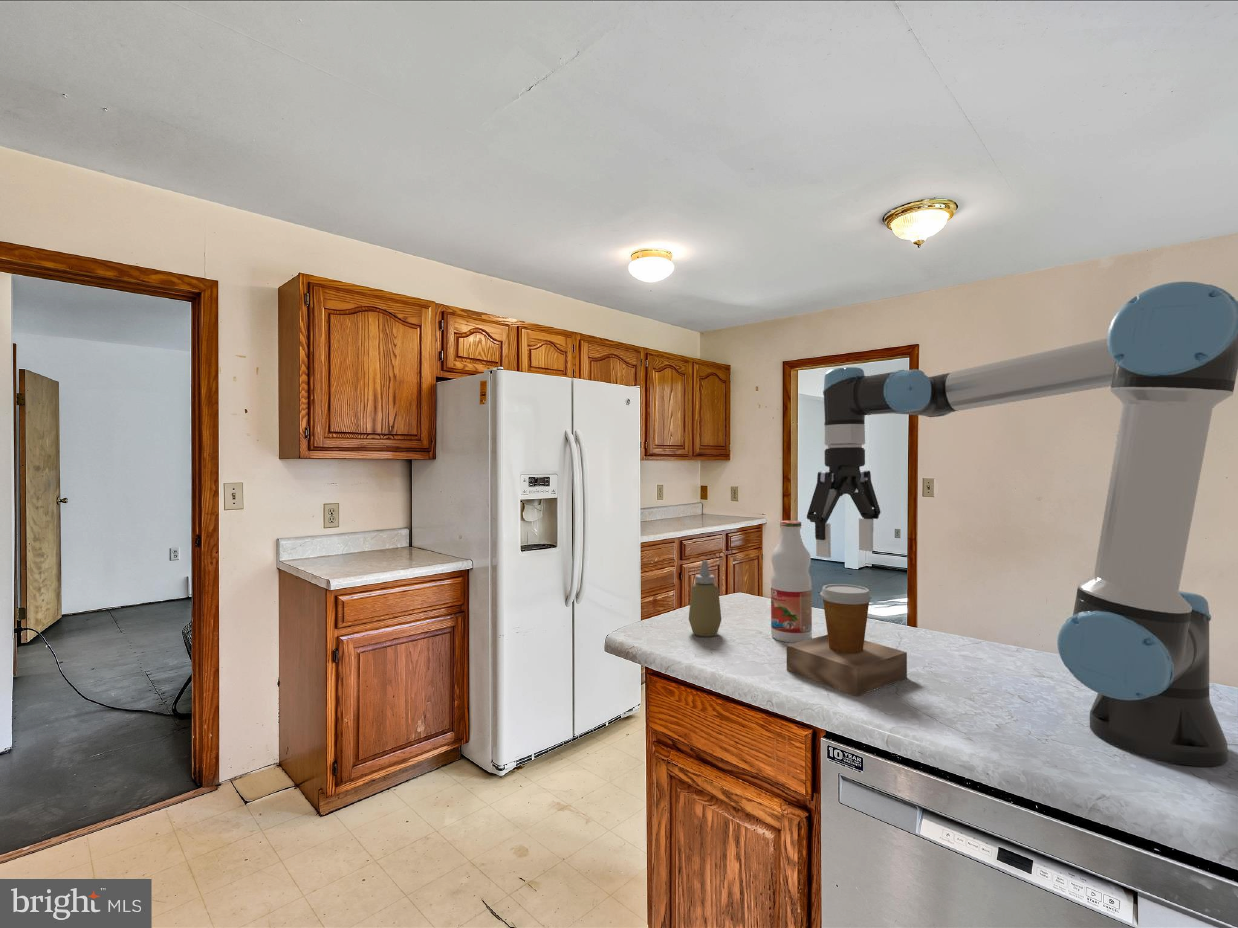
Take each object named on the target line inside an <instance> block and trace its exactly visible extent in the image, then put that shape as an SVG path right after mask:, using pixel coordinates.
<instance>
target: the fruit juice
mask: <svg viewBox="0 0 1238 928" xmlns="http://www.w3.org/2000/svg"><path fill="white" fill-rule="evenodd" d="M779 526H780V529H781V530H780V531H781V532H780V537H779V540H778V543H777V545H776V546H775V547H774V549H773V550H772V553H771V556H770V557H771V558H770V560H771V564H772V568H773V570H772V573H771V577H770V633H771V636H772V638H773V639H774V640H777V641H779V642H784V643H790V644H794V643H797V642H801V641H805V640H809V639H812V635H813V634H812V633H813V631H812V630H813V625H812V624H813V623H812V622H813V619H812V618H813V617H812V613H813V612H812V611H813V609H812V607H813V606H812V605H813V603H812V599H813V597H812V595H813V593H812V591H813V590H812V589H813V587H812V577H811V574H810V566H811V563H812V562H811V560H812V559H811V558H812V557H811V554H810V552H809V550H808V549H807V548H806V546H805V544H804V542H803V538H802V536H801V529H802V521H800V520H781V521H780V522H779Z"/></svg>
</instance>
